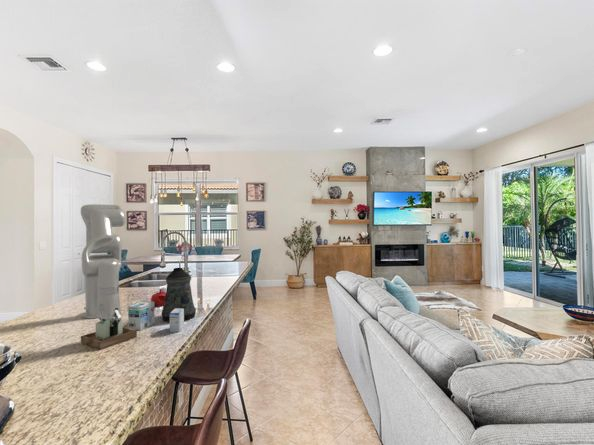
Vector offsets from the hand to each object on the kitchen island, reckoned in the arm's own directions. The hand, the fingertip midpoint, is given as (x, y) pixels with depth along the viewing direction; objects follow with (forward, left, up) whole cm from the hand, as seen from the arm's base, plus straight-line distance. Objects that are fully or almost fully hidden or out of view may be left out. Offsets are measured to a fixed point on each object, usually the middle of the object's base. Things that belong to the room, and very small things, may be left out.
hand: (109, 333), depth 140 cm
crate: (0, 0, -3) cm, 3 cm away
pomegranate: (-29, +48, -3) cm, 56 cm away
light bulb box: (-4, +18, -3) cm, 19 cm away
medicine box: (+14, +23, -3) cm, 27 cm away
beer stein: (-1, +36, -3) cm, 36 cm away
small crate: (0, 0, -1) cm, 1 cm away
